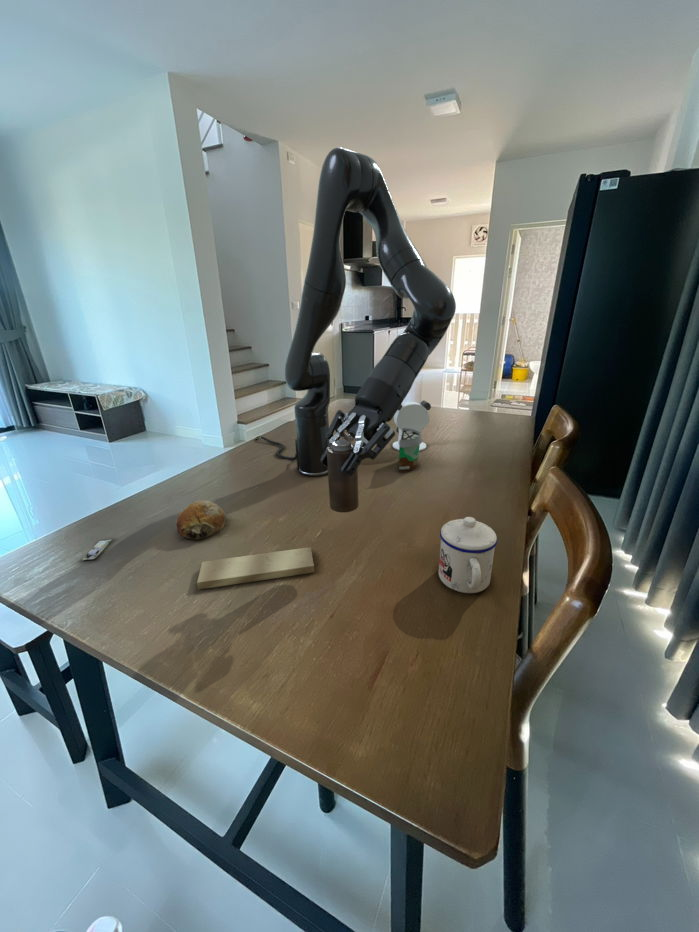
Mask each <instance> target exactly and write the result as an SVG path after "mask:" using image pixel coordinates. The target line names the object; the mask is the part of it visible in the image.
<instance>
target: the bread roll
mask: <svg viewBox="0 0 699 932" xmlns="http://www.w3.org/2000/svg"><path fill="white" fill-rule="evenodd" d="M225 524H226V514H225V512H224V510H223V509H222V508H221V507H220V506H219V505H218V504H217V503H214V502H212V501H210V500H201V499H200V500H193V501H191V503H189V504H188V505H187V506H185V507H184V509H182V510H181V511H180V512H179V514H178V516H177V519H176V530H177V533H178V535H179V536H180V537H182V538H183V539H188V540H192V541H193V540H197V541H198V540H202V539H206V538H210V537H211V536H214V535H215V534H219V533H220V532H221V530H222V529H223V528H224V527H225Z"/></svg>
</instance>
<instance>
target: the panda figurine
mask: <svg viewBox="0 0 699 932" xmlns="http://www.w3.org/2000/svg"><path fill="white" fill-rule="evenodd" d="M431 408H432V404H431V403H429V402H428V401H426V400H422V401H421V402H420V403H419V402H416V401H406V402H402V404H401V405H400V407H399V408H398V410H397V412H396V413H395V415H394V416H393V421H394V424H395V425H396V430H395V431H396V433H398V436H397V440H396V441H394V442H393V443H392V448H393V449H395V450H397V451H399V442H400V440H401V436H402V430H403V428H409V429H414V430H417V431H419V432H420V433H421V434H422V431H423V430H424V429H426V427H427V426H428V424H429V422H430V414H429V411H430V410H431ZM426 448H427V443H425V442H423V441H422V443H421V444H420V447H419V452H420V451H424V450H425V449H426Z"/></svg>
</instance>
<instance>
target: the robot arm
mask: <svg viewBox="0 0 699 932" xmlns="http://www.w3.org/2000/svg"><path fill="white" fill-rule="evenodd" d="M386 182H387V181H386V180H385V177H384V175H383V173H382V170H381V169H380V166H379V165H378V163H377V162H376V161H375V159H373V158H372V157H371V156H368V155H366V154H363V153H361V152H356V151H353V150H351V149H347V148H343V147H335V148H333V149H331V150H330V151H328V153H327V155H326V157H325V158H324V161H323V163H322V167H321V170H320V175H319V180H318V188H317V194H316V195H317V197H316V207H315V215H314V225H313V234H312V240H311V245H310V252H309V256H308V257H309V258H308V263H307V268H306V272H305V277H304V282H303V285H302V286H303V287H302V291H301V297H300V305H299V311H298V315H297V320H296V323H295V328H294V332H293V336H292V339H291V343H290V346H289V349H288V353H287V356H286V360H285V364H284V379H285V383H286V385H287V387H288V388H289V389H290V390H291V391H294V392H303V391H306V393H305V395H304V396H303V397H302V398H301V399H299V400H298V401H297V402H296V403H295V404H294V407H293V408H294V417H295V418H294V419H295V429H296V439H294V445H295V454H294V456H285V455H282V454H279V453H280V452H281V451H283V450H284V449H285V445H284V444H283V443H281V442H278V441H274V440H271V439H268V438H266V437H265V436H262V437H261V438H258V437H260V436H261V435H259V436H255V439H254V440H255V441H257V440H259V439H262V440H264V441H266V442H268V443H271V444H273V445H277V446H280V448H279V449H277V451H276V452H275V455H276V456H277V457H278V458H281V459H283V460H296V466H297V467H296V469H297V470H298V471H299V473H300V474H301V475H303V476H305V477H321V476H325V475H328V465H327V448H328V447H329V446H331V445H332V443H333V442H334V441H338V440H347V441H350V442H351V443H352V442H353V441H354V440H355V444H354V445H355V446H354V450H353V452H354V453H352V452H351V453H350V455H349V456H348V458H347V460H346V461H345V463H344V464H343V466H342V467H341V469H340V472H341V473H342V474H344V475H345V476H347V477H351V475H353V474H354V473H355V471H356V469H357V468H359V467H360V465H361V463H362V462H363V461H365V460H366V459H370V460H373V461H374V460H375V459H377V457H378V456H379V455H380V454H381V452H382V451H383V450H384V449H385V448H386V447H387V445H388V444H389V443H390V442H391V440H392V439H393V438H394V437H395V436H396V432H395V430H394V429H393V428H392V426H390V425H389V424H388V423H389V422H391V421H392V419H394V415H395V413H396V412H397V410H398V408H399V407H400V405H401V404H402V403H404V401H405V399H406V397H407V396H408V394H409V393H410V391H411V389H412V387H413V384H414V382H415V380H416V379H417V377H418V376H419V374H420V372H421V370H422V369H423V368H424V366H425V364H426V363H427V360H428V358H429V356H430V355H431V354H432V353H433V352H434V351H435V349H436V347H437V346H438V345H439V344H440V343H441V341H442V339H443V338H444V336H445V335H446V333H447V331H448V329H449V326H450V325H451V322H452V321H453V318H454V316H455V314H456V310H457V304H456V300H455V296H454V294H453V292H452V290H451V289H450V288H449V286H448V285H447V284H446V283H445V282H444V281H443V280H442V279H441V278H440V277H439V276H438V275H437V274H435V272H434V271H432V270H431V269H430V268H428V266H427V264H426V262H425V261H424V259H423V257H422V256H421V254H420V252H419V251H418V249H417V247H416V246H415V244H414V243H413V241H412V240H411V238H410V236H409V234H408V232H407V230H406V229H405V226H404V225H403V222H402V220H401V218H400V215H399V213H398V210H397V208H396V206H395V203H394V201H393V198H392V196H391V193H390V190H389V187H388V185H387V183H386ZM347 211H348V212H352V213H359V214H360V215H361V216H363V218H364V219H365V220H366V221H367V222H368V224H369V225H370V227H371V229H372V230H373V233H374V239H375V252H376V259H377V261H378V265H379V267H380V268H381V271H382V272H383V274H384V276H385V278H386V279H387V281H388V282H389V284H390V286H391V288H392V290H393V291H394V292H395V294H396V295H397V296H398V297H399V298H401V299H404V300H407V299H408V300H410V303H412V306H413V308H414V309H413V313H412V315H411V319H410V321H409V322H408V324H407V325H406V327H405V329H404V330H403V332H402V333H400V334H398V335H397V336H396V337H395V338H394V340H392V342H391V344H390V345H389V347H388V348H387V350H386V351H385V353H384V354H383V356H382V357H381V359H380V360H379V361H378V362H377V363H376V364H375V366H374V367H373V368H372V370H371V371H370V373H369V374H368V376H367V378H366V379H365V381H364V382H363V384H362V385H361V387H360V388H359V390H358V392H357V393H356V395H355V396H354V403H355V404H354V406H353V408H351V409H350V410H349V411H348V412H344V411H342V410H341V409H337V411H336V412H335V414H334V417H333V418H332V421H331V423H330V421H329V419H330V418H329V406H330V403H331V370H330V369H331V368H330V365H329V361H328V359H327V358H326V356H325V355H324V354H323V353H321V352H314V349H315V348H316V345H317V344H318V341H319V340H320V339H321V337H322V336H323V335H324V333H325V332H326V331H327V330H328V329H329V327H330V326H332V325H331V324H332V323H333V322H334V320H336V318H337V316H338V314H339V312H340V309H341V306H342V303H343V298H344V296H345V291H346V288H347V287H346V286H347V273H346V269H345V265H344V260H343V255H342V249H341V233H342V228H343V227H342V226H343V222H344V217H345V214H346V212H347ZM346 432H347V433H346ZM334 433H335V434H334ZM256 438H258V439H256ZM341 438H342V439H341Z"/></svg>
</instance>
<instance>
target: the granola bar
mask: <svg viewBox="0 0 699 932" xmlns="http://www.w3.org/2000/svg"><path fill="white" fill-rule="evenodd" d="M110 542H112V539H107V540H99V541H98V542H97V543H96V544H95V545H94V546H93V547H92V548H91V549H90V550H89V552H87V554H86V555H85V556H84V557H83V558H82V561H87V560H95V559H96V558H97V557H98V556H99V555H100V554H101V553H102V552H103V550H105V548H106V547H107V546H108V545H109V544H110Z"/></svg>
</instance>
